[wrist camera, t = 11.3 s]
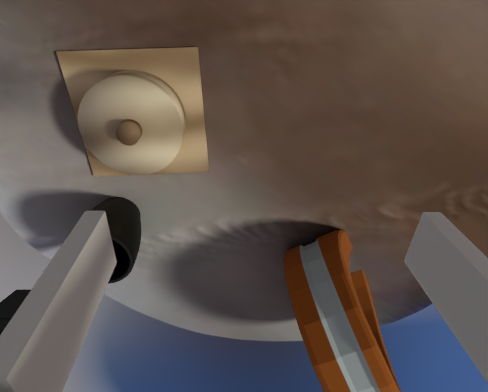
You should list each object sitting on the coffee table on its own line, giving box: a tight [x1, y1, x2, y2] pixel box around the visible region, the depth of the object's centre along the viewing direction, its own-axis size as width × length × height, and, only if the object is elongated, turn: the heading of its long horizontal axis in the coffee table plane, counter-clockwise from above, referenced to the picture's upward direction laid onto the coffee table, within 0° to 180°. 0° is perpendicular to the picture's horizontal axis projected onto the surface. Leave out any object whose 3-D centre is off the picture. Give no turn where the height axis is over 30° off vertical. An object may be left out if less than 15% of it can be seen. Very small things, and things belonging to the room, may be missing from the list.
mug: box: [63, 197, 141, 284], centre depth 42 cm, size 8×12×10 cm
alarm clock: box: [284, 230, 401, 392], centre depth 43 cm, size 22×10×23 cm, turn 27°
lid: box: [78, 70, 186, 175], centre depth 36 cm, size 11×11×6 cm
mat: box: [56, 47, 209, 177], centre depth 38 cm, size 15×15×1 cm
